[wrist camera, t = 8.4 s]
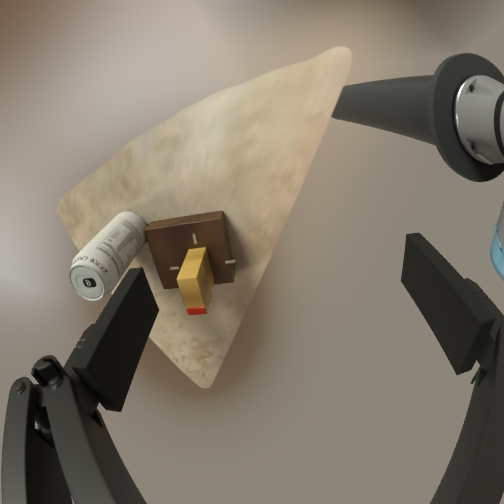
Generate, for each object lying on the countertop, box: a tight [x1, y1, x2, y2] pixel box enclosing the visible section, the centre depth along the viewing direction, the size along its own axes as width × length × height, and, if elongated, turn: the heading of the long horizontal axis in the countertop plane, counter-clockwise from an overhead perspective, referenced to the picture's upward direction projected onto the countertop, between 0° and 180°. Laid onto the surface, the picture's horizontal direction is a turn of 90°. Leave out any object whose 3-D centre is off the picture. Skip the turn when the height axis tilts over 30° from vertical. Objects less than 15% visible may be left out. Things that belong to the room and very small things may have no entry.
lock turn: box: [177, 247, 214, 315], centre depth 38 cm, size 6×2×8 cm, turn 8°
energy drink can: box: [69, 212, 147, 301], centre depth 35 cm, size 6×6×15 cm
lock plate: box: [144, 211, 236, 289], centre depth 42 cm, size 12×11×3 cm
